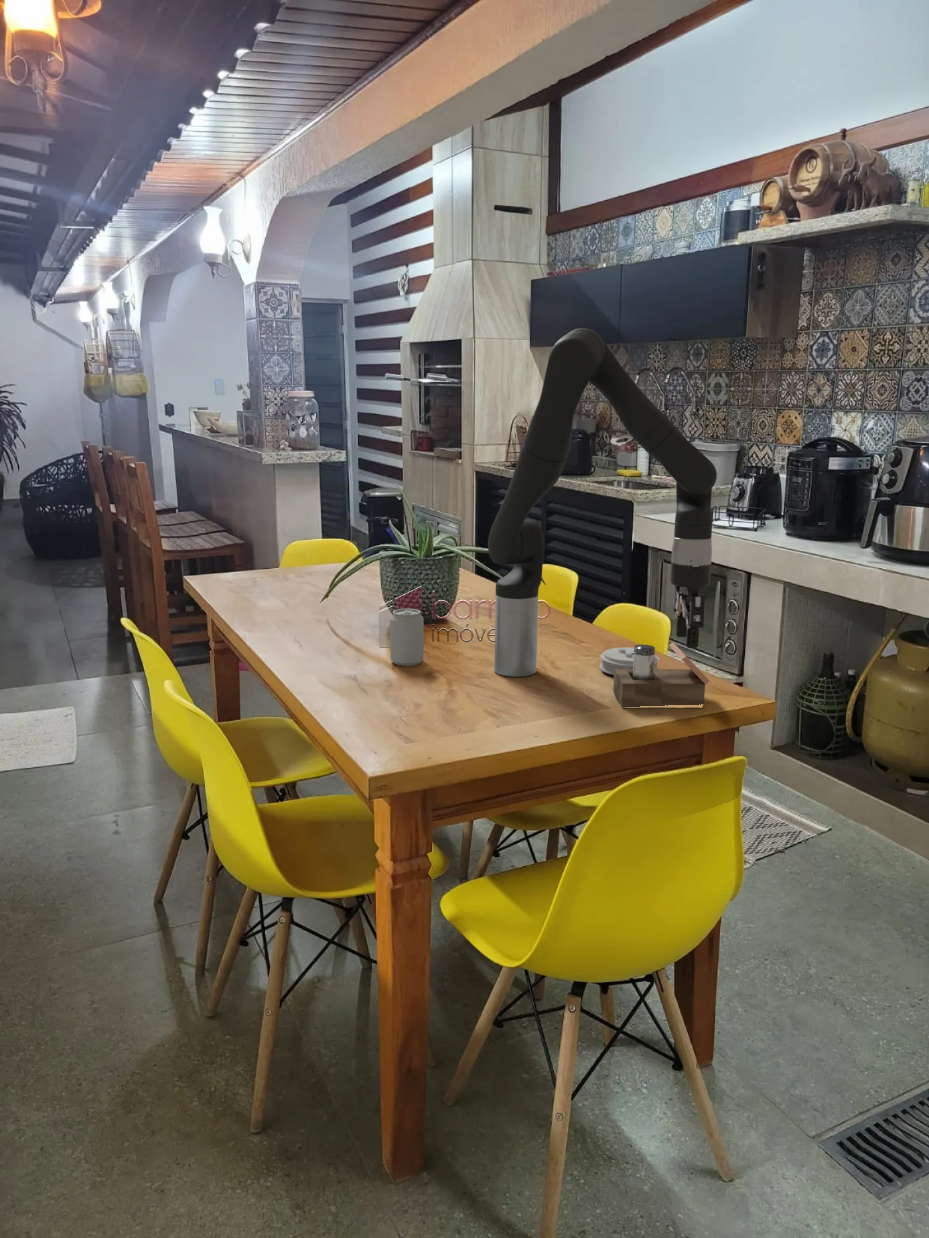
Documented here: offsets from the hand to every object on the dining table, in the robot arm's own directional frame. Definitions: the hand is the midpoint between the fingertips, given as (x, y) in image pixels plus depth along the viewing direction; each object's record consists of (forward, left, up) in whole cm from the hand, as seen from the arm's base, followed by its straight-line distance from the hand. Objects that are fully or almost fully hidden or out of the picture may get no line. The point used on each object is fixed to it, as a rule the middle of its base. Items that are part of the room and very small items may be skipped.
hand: (686, 641), depth 189 cm
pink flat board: (0, 0, -5) cm, 5 cm away
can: (-27, -56, -12) cm, 64 cm away
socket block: (0, -5, -12) cm, 13 cm away
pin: (0, -8, -12) cm, 15 cm away
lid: (-20, -7, -13) cm, 25 cm away
